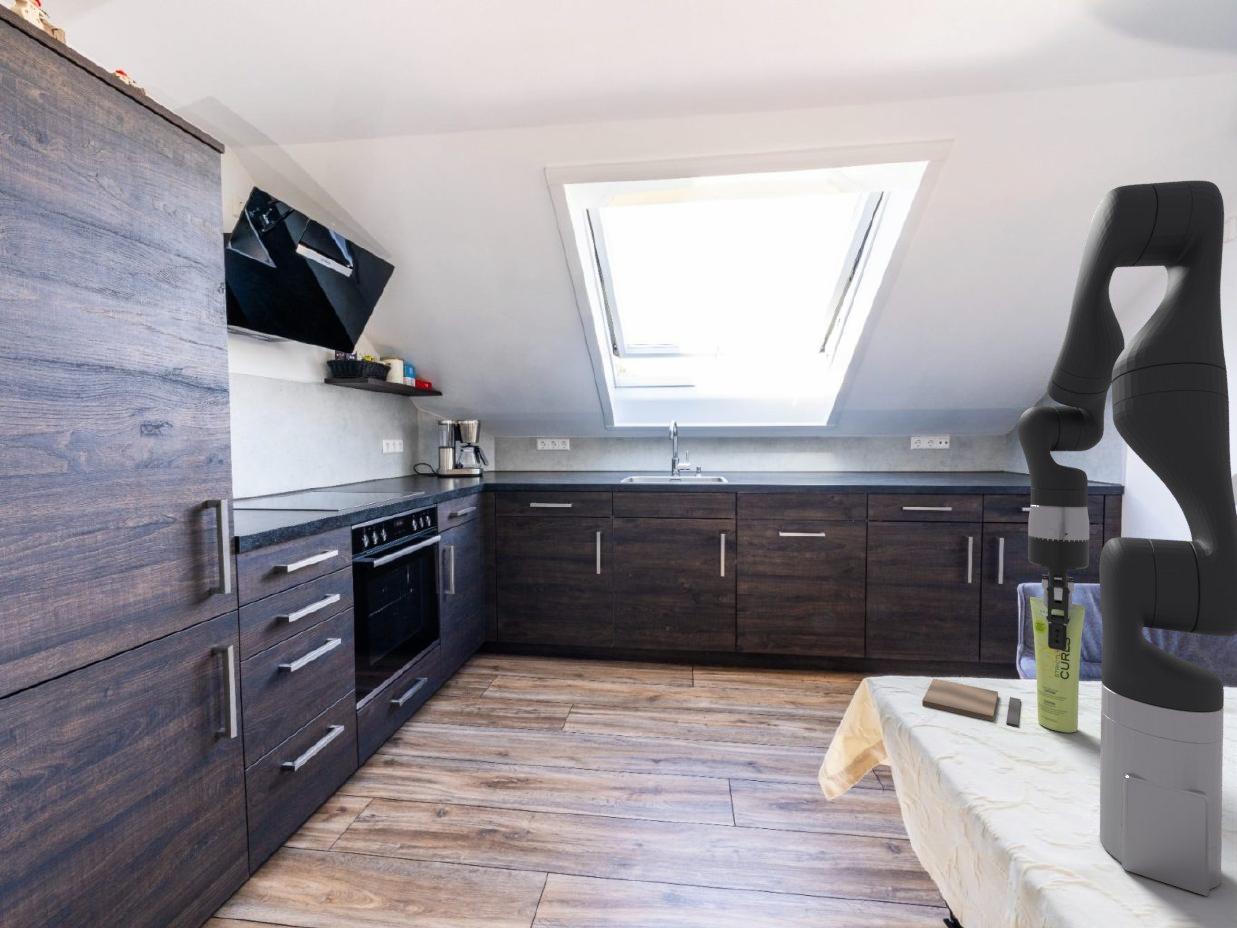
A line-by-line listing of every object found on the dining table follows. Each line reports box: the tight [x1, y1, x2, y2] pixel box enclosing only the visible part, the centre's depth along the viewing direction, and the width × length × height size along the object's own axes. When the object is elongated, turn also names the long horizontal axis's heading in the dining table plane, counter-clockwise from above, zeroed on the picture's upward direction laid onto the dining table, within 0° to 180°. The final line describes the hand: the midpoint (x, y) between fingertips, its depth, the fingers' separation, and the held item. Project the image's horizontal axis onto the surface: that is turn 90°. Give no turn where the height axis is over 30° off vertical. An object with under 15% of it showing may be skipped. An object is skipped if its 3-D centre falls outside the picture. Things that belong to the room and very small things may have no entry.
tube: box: [1029, 596, 1086, 734], centre depth 90 cm, size 6×5×20 cm
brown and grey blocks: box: [922, 678, 1021, 728], centre depth 98 cm, size 12×13×1 cm
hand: (1056, 644), depth 89 cm, fingers closed on tube, 4 cm apart
